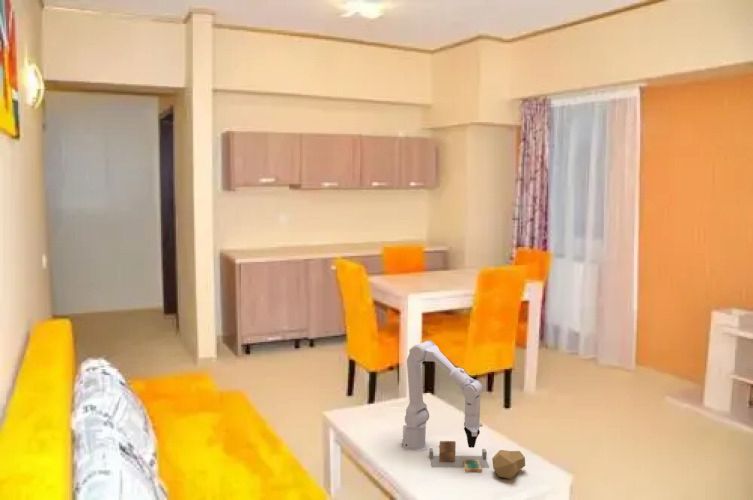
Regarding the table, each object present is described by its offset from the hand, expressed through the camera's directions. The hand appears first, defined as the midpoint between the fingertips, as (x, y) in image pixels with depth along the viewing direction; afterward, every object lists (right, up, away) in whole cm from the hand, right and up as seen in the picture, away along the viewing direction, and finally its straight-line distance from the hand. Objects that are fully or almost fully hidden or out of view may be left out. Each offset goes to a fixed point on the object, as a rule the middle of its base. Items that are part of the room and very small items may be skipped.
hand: (471, 446), depth 249 cm
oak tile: (0, -6, +1) cm, 6 cm away
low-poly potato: (+13, -9, -8) cm, 17 cm away
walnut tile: (-9, -6, +2) cm, 11 cm away
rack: (-5, -7, +2) cm, 8 cm away
